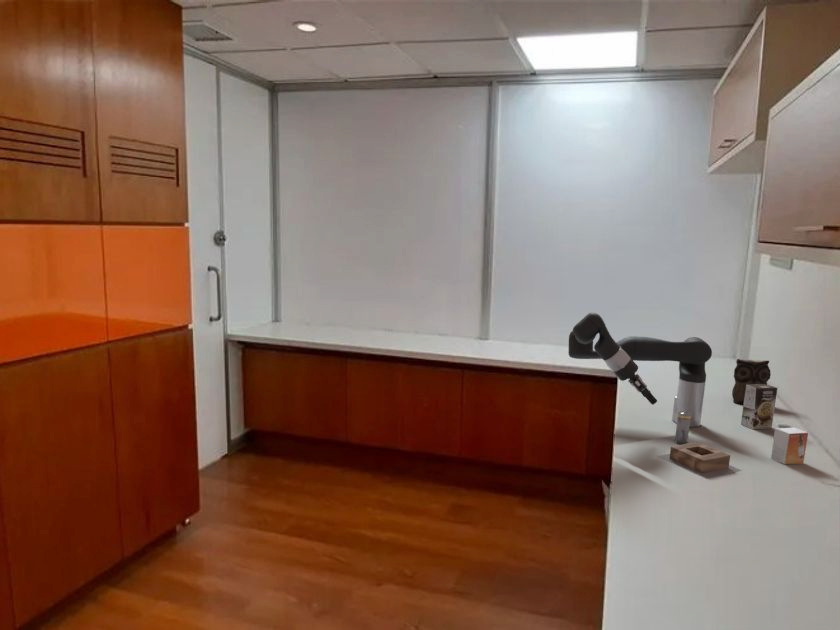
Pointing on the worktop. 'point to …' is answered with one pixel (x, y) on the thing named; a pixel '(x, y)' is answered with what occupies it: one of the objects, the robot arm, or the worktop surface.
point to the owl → (748, 377)
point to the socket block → (699, 457)
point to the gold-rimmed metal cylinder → (682, 427)
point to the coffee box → (759, 406)
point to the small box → (789, 445)
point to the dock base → (705, 475)
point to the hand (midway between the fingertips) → (651, 399)
